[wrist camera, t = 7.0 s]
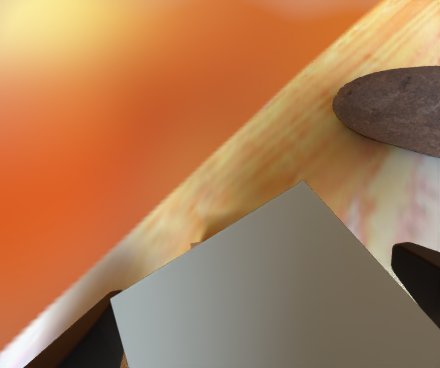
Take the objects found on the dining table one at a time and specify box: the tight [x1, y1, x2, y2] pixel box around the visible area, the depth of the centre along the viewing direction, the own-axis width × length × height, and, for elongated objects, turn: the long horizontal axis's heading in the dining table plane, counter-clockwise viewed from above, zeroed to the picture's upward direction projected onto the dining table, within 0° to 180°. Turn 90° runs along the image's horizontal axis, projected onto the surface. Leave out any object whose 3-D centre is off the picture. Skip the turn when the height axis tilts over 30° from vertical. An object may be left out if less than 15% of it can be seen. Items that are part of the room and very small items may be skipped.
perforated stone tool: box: [332, 66, 440, 158], centre depth 16 cm, size 15×5×7 cm, turn 65°
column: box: [110, 180, 440, 368], centre depth 8 cm, size 4×4×12 cm
